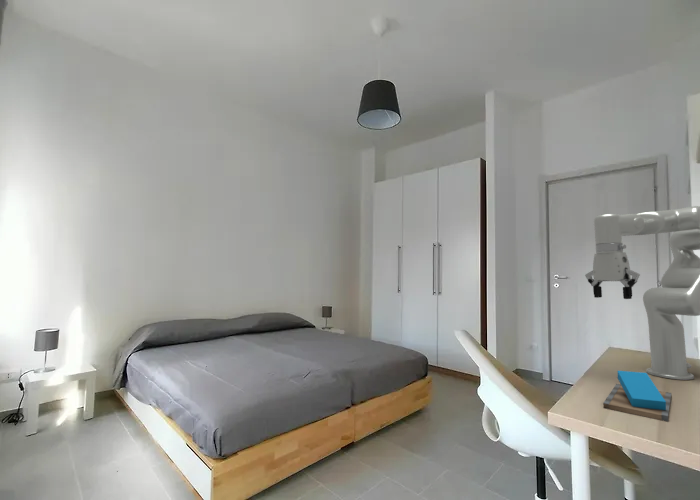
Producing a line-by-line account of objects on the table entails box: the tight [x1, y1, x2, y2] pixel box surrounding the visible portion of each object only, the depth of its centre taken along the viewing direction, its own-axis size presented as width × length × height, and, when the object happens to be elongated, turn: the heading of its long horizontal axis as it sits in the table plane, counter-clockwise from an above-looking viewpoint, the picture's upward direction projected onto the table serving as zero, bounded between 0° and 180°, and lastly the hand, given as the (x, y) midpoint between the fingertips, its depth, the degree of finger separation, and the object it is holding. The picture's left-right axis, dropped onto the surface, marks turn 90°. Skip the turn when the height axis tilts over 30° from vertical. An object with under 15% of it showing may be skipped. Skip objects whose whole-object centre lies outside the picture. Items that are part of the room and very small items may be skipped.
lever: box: [617, 370, 666, 410], centre depth 98 cm, size 7×7×18 cm
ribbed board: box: [603, 383, 673, 422], centre depth 98 cm, size 24×13×1 cm, turn 136°
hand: (612, 298), depth 120 cm, fingers open, 9 cm apart
